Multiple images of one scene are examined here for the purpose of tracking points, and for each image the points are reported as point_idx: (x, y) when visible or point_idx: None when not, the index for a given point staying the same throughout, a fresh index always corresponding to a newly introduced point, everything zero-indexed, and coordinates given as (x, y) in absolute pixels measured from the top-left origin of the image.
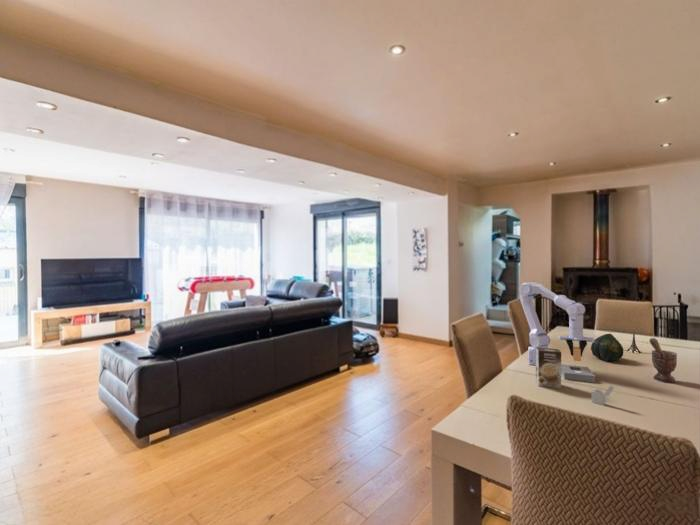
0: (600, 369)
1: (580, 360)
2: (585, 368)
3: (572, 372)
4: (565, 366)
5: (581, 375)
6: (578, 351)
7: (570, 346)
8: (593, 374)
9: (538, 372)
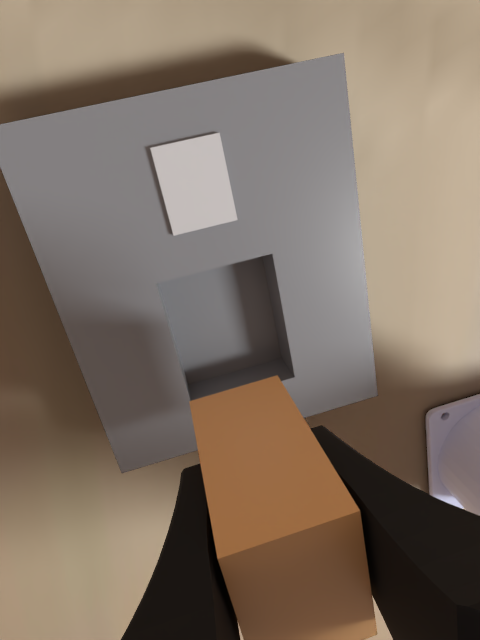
0: (45, 597)
1: (192, 407)
2: (136, 405)
3: (256, 137)
4: (327, 350)
5: (150, 94)
6: (246, 495)
7: (443, 515)
8: (17, 198)
9: None
